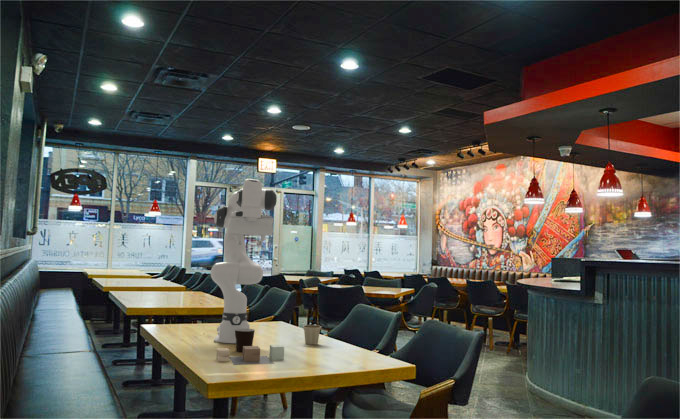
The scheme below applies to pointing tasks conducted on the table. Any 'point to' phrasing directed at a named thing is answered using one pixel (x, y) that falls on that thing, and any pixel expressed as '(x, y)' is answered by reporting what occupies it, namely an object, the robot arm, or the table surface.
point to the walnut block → (251, 353)
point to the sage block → (276, 352)
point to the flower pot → (311, 334)
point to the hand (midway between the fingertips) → (249, 245)
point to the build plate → (240, 361)
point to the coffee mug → (243, 338)
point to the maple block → (223, 354)
